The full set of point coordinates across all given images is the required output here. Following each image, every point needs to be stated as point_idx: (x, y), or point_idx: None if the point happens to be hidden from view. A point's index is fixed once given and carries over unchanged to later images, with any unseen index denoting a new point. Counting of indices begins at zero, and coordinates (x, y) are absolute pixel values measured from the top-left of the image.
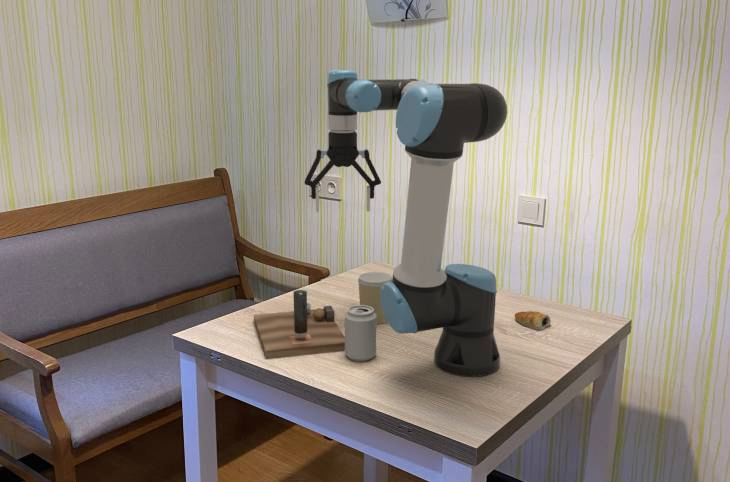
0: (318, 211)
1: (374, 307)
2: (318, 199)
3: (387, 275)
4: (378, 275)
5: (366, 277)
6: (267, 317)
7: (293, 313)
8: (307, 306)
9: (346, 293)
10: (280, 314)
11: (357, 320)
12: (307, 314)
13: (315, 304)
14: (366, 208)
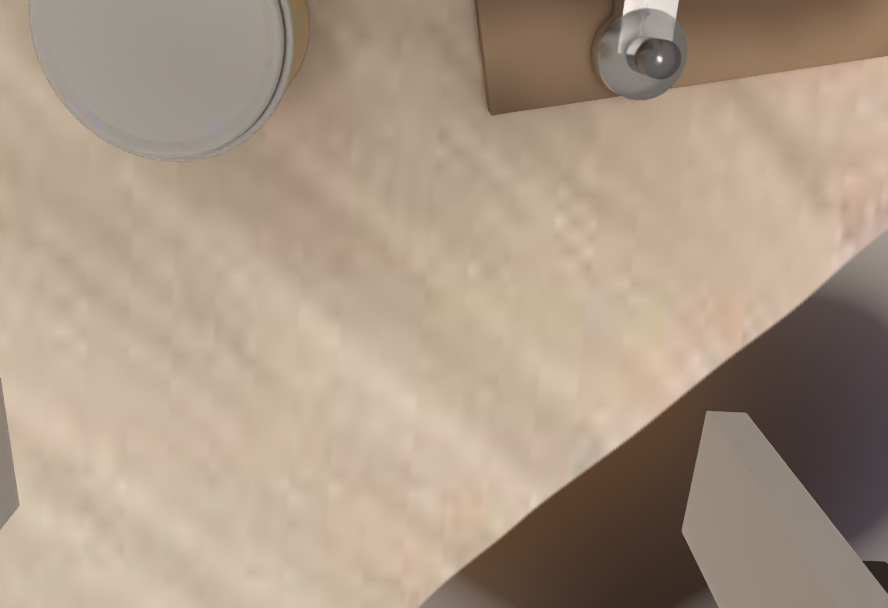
0: (712, 415)
1: None
2: (786, 521)
3: (65, 76)
4: (134, 85)
5: (226, 43)
6: (833, 4)
7: None
8: (619, 30)
9: (362, 410)
10: (756, 45)
11: None
12: None
13: (532, 273)
14: (12, 506)
